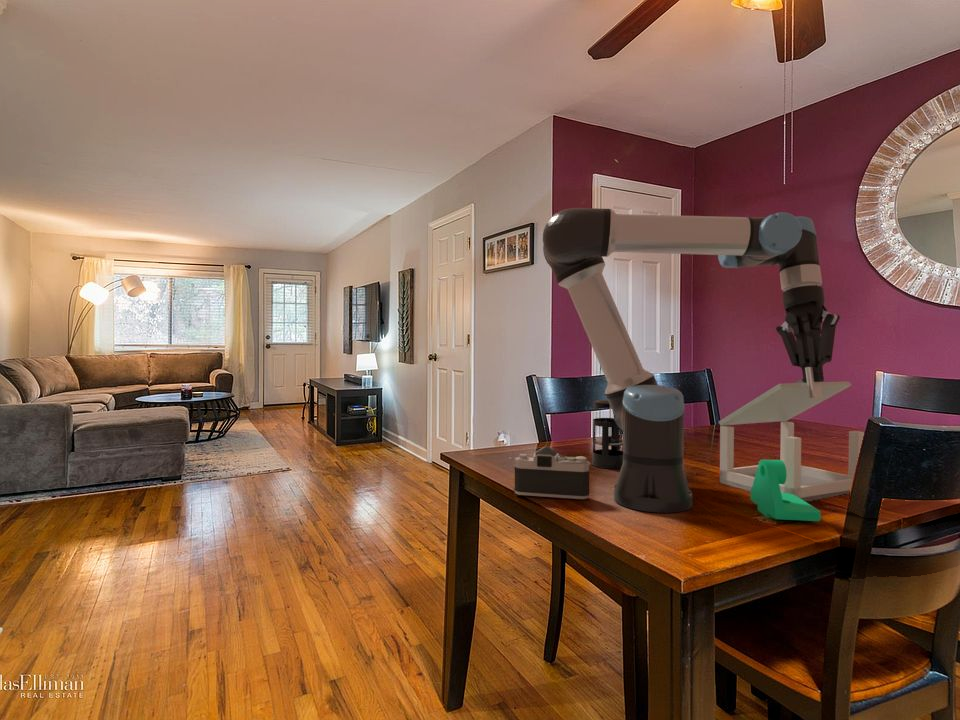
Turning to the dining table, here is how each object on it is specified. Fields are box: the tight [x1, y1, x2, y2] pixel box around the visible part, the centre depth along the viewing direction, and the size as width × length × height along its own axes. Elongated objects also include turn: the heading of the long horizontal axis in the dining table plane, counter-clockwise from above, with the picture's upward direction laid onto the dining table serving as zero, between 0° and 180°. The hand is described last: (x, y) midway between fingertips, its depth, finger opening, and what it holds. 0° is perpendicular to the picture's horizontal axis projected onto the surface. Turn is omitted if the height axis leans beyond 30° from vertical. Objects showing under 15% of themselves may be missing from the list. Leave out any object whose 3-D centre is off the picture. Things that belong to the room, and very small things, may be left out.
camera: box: [514, 445, 592, 500], centre depth 111 cm, size 16×9×10 cm, turn 77°
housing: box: [719, 421, 865, 503], centre depth 115 cm, size 22×18×13 cm
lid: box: [718, 378, 852, 426], centre depth 117 cm, size 22×18×2 cm
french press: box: [591, 378, 623, 470], centre depth 138 cm, size 12×9×23 cm
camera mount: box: [750, 458, 822, 522], centre depth 96 cm, size 12×8×10 cm, turn 171°
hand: (815, 398), depth 107 cm, fingers closed
